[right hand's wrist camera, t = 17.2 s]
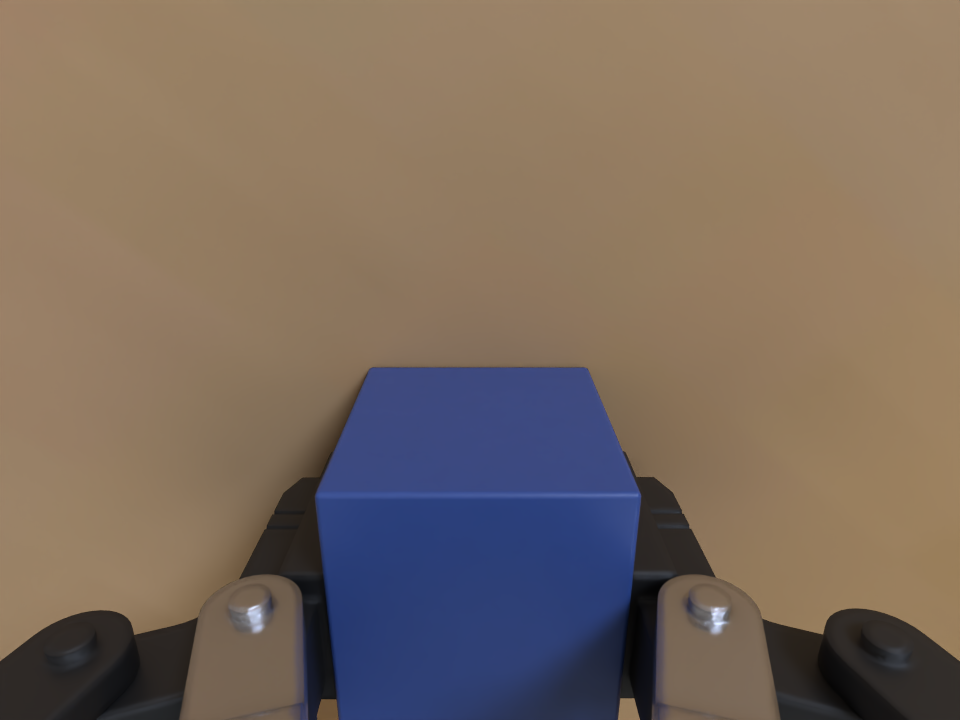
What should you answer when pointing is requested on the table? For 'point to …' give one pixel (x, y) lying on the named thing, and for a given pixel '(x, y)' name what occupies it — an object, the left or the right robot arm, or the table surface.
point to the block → (478, 547)
